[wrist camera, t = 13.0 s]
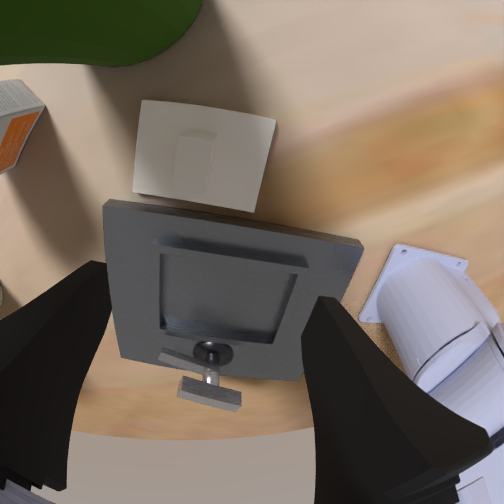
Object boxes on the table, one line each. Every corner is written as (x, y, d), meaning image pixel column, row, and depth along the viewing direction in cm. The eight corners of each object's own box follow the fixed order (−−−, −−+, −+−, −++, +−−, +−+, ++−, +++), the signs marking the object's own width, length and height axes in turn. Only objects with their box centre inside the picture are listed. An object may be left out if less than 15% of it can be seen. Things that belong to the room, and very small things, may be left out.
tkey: (165, 336, 23) (154, 380, 19) (241, 361, 25) (241, 405, 21) (161, 345, 23) (150, 388, 19) (234, 369, 25) (234, 412, 21)
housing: (358, 239, 20) (368, 254, 19) (296, 371, 28) (299, 387, 27) (109, 199, 18) (97, 210, 16) (124, 348, 26) (118, 363, 24)
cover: (274, 118, 16) (281, 124, 13) (253, 205, 19) (255, 230, 16) (148, 98, 15) (126, 102, 12) (138, 186, 18) (118, 206, 15)
